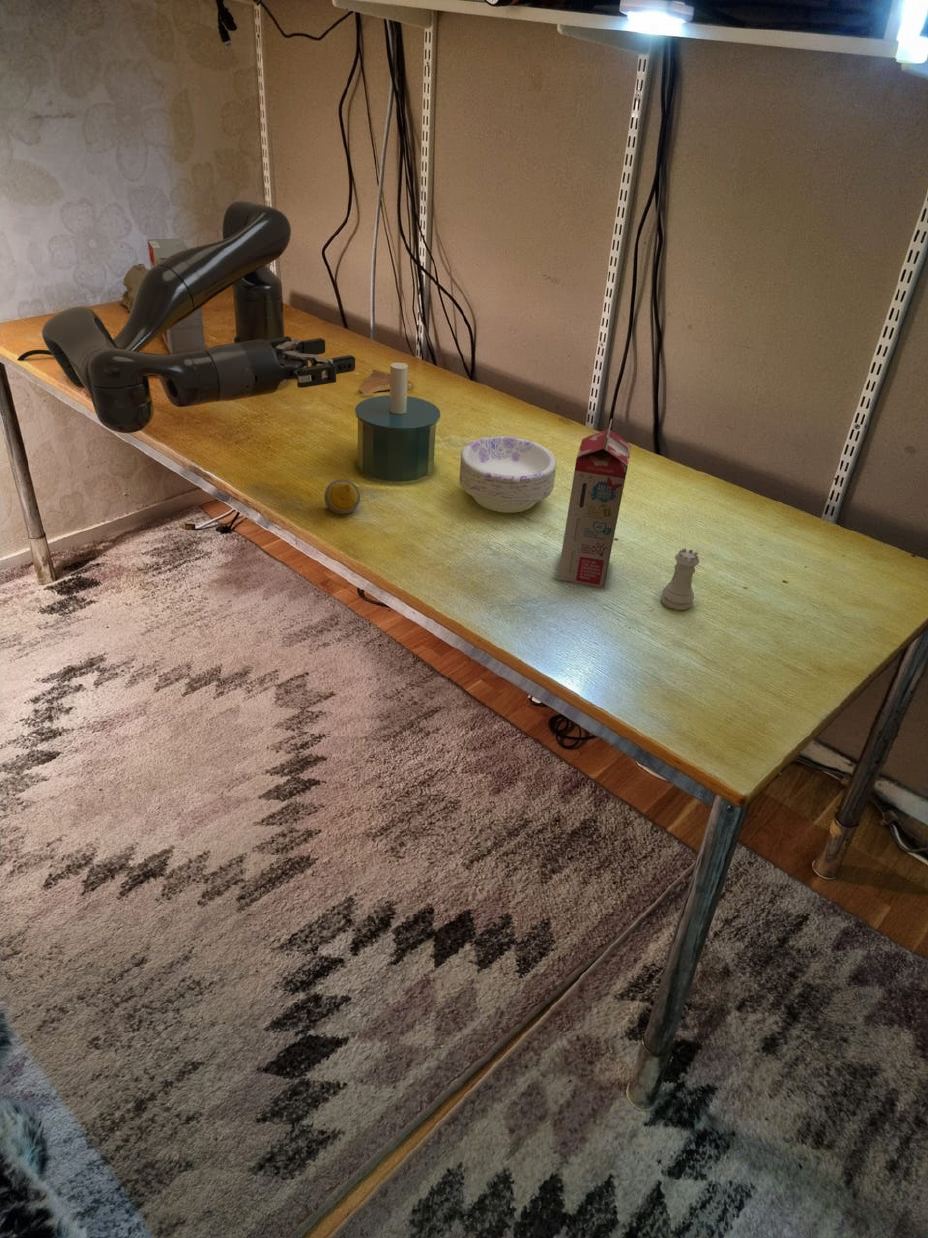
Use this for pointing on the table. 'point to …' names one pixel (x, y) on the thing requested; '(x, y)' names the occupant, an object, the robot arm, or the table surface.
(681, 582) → the rook chess piece
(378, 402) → the lid
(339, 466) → the table surface
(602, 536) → the juice carton
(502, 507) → the paper bowls
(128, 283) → the ceramic model
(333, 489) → the drill bit
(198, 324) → the hard drive box
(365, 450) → the pot
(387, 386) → the pottery shard
